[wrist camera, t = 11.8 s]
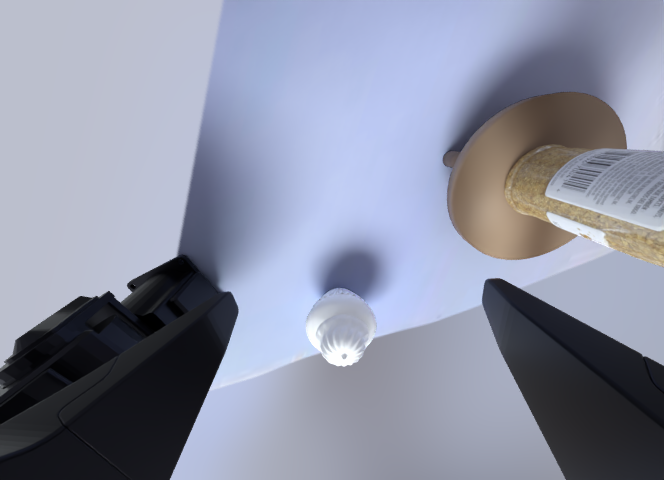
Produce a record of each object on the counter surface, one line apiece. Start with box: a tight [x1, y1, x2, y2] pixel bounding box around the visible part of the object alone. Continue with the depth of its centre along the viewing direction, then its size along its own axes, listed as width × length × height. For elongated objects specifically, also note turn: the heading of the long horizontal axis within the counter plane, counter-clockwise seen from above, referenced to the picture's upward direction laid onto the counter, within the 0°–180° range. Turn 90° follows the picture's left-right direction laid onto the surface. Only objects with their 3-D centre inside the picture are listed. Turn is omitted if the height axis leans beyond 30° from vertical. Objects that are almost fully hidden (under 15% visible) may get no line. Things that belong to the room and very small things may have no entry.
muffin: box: [306, 288, 376, 366], centre depth 22 cm, size 6×6×7 cm
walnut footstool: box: [443, 92, 627, 260], centre depth 18 cm, size 11×11×4 cm
